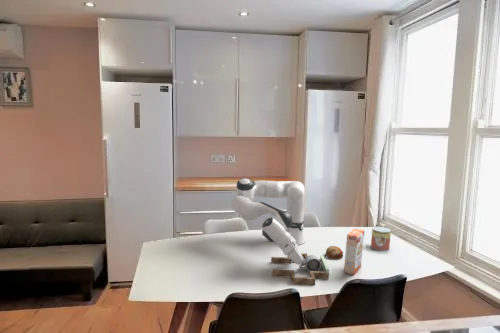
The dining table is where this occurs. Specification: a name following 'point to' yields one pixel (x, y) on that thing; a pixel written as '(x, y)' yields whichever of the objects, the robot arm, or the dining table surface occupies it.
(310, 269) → the ceramic mug
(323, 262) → the sage end wall
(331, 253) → the bread roll
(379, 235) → the canned food
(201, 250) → the dining table surface
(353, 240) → the cracker box
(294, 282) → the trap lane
